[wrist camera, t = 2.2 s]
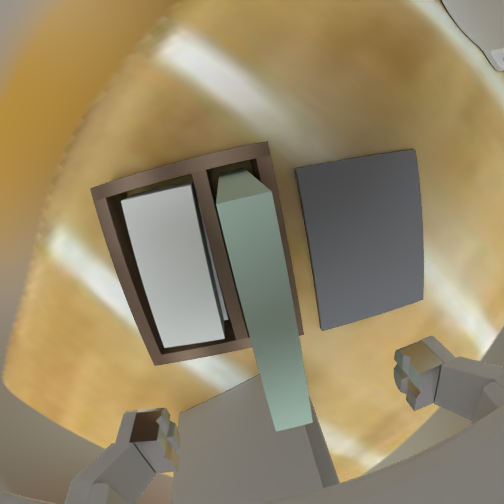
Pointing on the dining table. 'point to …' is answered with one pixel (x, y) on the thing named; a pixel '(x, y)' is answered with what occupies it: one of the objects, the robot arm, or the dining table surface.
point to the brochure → (247, 452)
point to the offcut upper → (175, 264)
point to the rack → (125, 261)
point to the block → (264, 293)
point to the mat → (363, 234)
